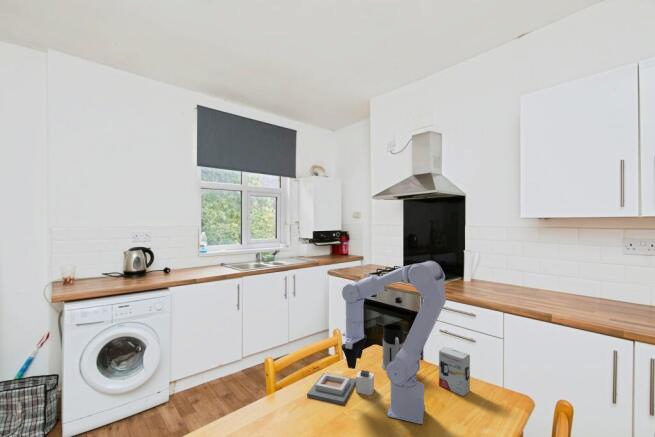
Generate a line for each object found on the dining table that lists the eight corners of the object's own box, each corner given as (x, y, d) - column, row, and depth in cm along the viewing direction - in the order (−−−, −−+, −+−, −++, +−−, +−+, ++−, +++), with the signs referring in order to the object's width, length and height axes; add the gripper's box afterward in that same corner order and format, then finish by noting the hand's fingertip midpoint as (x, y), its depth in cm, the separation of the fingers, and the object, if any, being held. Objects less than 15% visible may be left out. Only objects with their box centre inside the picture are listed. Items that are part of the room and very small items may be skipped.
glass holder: (402, 362, 117) (402, 323, 118) (411, 380, 103) (411, 336, 103) (380, 361, 118) (380, 323, 118) (385, 380, 103) (385, 336, 104)
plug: (373, 389, 98) (373, 370, 98) (371, 395, 94) (371, 376, 94) (359, 386, 100) (359, 368, 100) (355, 392, 96) (355, 373, 96)
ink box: (438, 385, 100) (437, 350, 100) (445, 380, 103) (444, 346, 104) (463, 396, 94) (463, 358, 94) (470, 390, 97) (470, 354, 97)
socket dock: (356, 382, 102) (356, 374, 102) (343, 405, 89) (343, 396, 89) (323, 375, 107) (323, 368, 107) (307, 396, 93) (307, 388, 94)
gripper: (348, 313, 105) (349, 352, 105) (335, 326, 92) (336, 370, 91) (368, 315, 103) (369, 355, 103) (358, 328, 89) (358, 374, 89)
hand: (354, 362), depth 97 cm, fingers open, 7 cm apart
